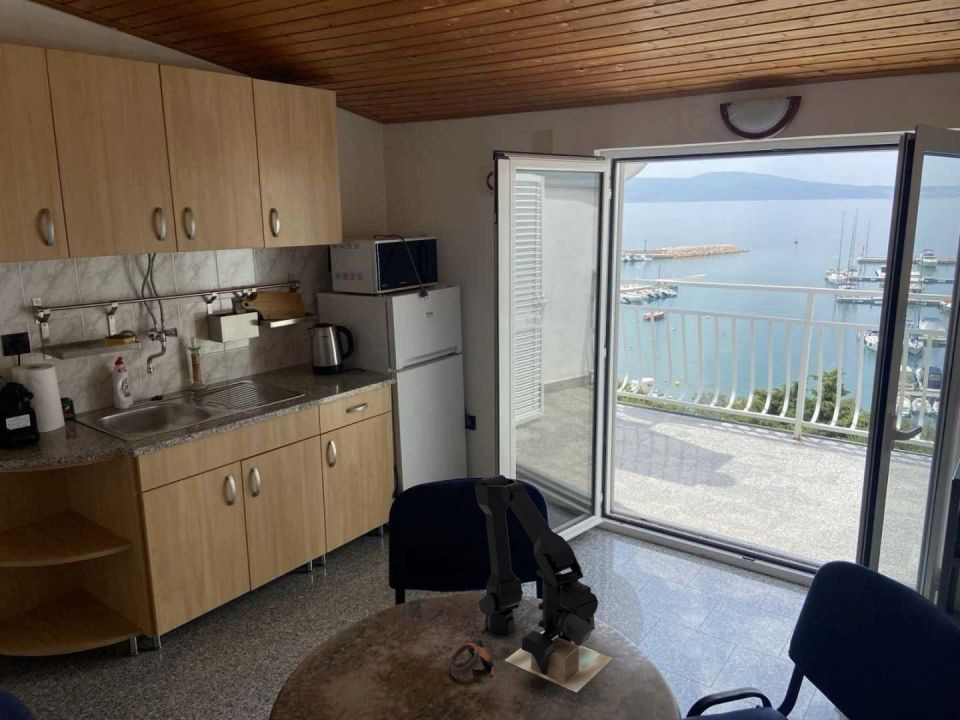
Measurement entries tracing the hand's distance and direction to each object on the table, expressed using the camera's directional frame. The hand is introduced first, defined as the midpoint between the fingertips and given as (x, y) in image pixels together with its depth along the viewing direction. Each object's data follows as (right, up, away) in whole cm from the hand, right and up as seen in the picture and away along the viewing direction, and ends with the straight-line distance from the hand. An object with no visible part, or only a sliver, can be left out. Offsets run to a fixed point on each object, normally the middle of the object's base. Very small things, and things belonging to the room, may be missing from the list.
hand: (554, 665), depth 157 cm
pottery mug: (-18, -2, +1) cm, 18 cm away
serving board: (+1, -1, +4) cm, 5 cm away
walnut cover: (0, -1, 0) cm, 1 cm away
